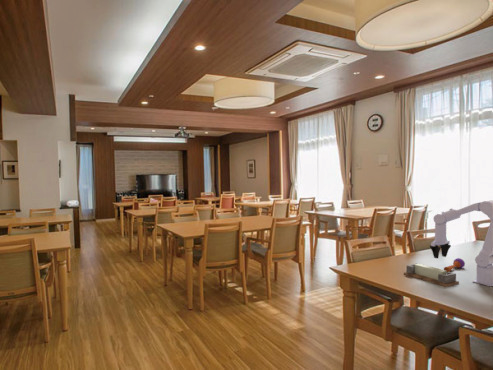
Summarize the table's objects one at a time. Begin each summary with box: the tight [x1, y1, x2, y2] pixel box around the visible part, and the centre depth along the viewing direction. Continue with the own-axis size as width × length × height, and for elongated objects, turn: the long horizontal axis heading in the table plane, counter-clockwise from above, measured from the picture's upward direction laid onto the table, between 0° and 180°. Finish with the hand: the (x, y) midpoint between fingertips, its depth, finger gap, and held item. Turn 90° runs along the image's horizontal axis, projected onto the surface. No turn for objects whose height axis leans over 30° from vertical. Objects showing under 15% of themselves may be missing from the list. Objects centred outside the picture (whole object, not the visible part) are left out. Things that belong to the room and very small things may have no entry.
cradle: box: [403, 263, 460, 288], centre depth 186 cm, size 25×11×5 cm, turn 27°
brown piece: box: [443, 257, 466, 272], centre depth 205 cm, size 6×6×20 cm
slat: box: [414, 263, 447, 280], centre depth 186 cm, size 16×4×5 cm, turn 27°
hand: (440, 257), depth 196 cm, fingers open, 7 cm apart
